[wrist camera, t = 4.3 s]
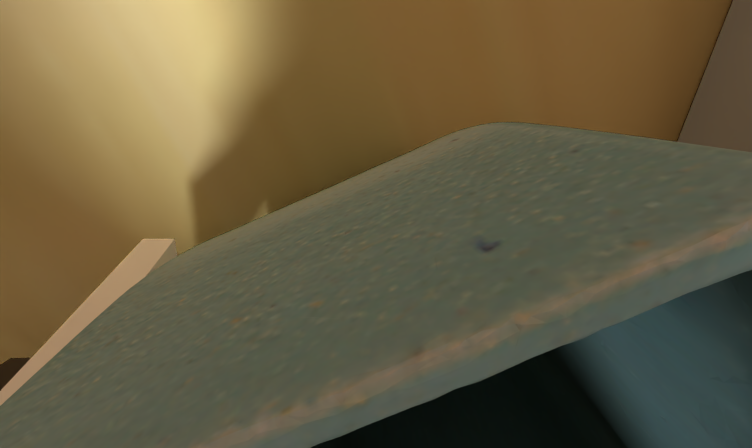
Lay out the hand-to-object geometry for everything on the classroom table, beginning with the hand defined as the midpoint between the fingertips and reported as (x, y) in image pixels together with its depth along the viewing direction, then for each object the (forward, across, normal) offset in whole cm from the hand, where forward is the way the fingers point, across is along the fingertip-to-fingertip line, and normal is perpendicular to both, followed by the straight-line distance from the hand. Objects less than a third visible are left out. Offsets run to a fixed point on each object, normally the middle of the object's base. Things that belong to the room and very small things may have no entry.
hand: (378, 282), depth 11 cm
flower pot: (+2, 0, 0) cm, 2 cm away
